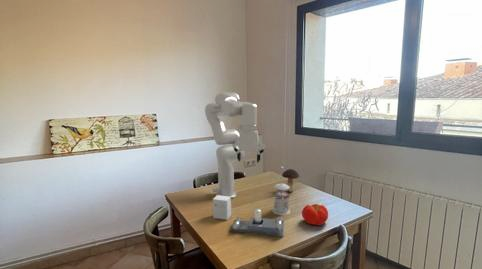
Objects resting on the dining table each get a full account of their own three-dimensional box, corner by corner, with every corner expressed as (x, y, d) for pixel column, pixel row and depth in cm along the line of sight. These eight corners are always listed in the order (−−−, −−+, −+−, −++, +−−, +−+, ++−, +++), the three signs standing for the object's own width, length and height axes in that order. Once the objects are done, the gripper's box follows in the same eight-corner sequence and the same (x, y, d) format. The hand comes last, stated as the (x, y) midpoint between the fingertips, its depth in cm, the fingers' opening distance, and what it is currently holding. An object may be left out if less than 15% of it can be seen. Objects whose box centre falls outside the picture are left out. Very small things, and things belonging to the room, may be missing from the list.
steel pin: (254, 231, 126) (254, 211, 124) (255, 228, 128) (255, 208, 127) (260, 231, 125) (260, 211, 123) (261, 228, 128) (261, 208, 126)
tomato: (306, 229, 126) (306, 212, 125) (299, 217, 139) (299, 201, 137) (332, 228, 127) (333, 211, 126) (323, 216, 139) (324, 200, 138)
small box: (231, 215, 142) (231, 196, 140) (227, 220, 136) (227, 200, 135) (217, 213, 144) (216, 194, 142) (213, 218, 139) (212, 198, 137)
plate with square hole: (230, 232, 125) (230, 221, 124) (235, 223, 133) (234, 212, 132) (283, 237, 120) (283, 226, 119) (283, 227, 129) (284, 216, 128)
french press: (270, 213, 143) (270, 168, 139) (275, 204, 154) (275, 162, 150) (288, 216, 140) (289, 169, 136) (292, 207, 151) (293, 163, 146)
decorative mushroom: (301, 190, 175) (301, 168, 172) (295, 196, 166) (296, 172, 163) (285, 187, 181) (285, 165, 178) (278, 192, 171) (279, 170, 169)
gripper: (230, 128, 132) (230, 162, 136) (265, 130, 129) (264, 164, 132) (233, 126, 140) (233, 158, 143) (267, 127, 136) (266, 160, 139)
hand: (248, 161), depth 138 cm, fingers open, 9 cm apart
